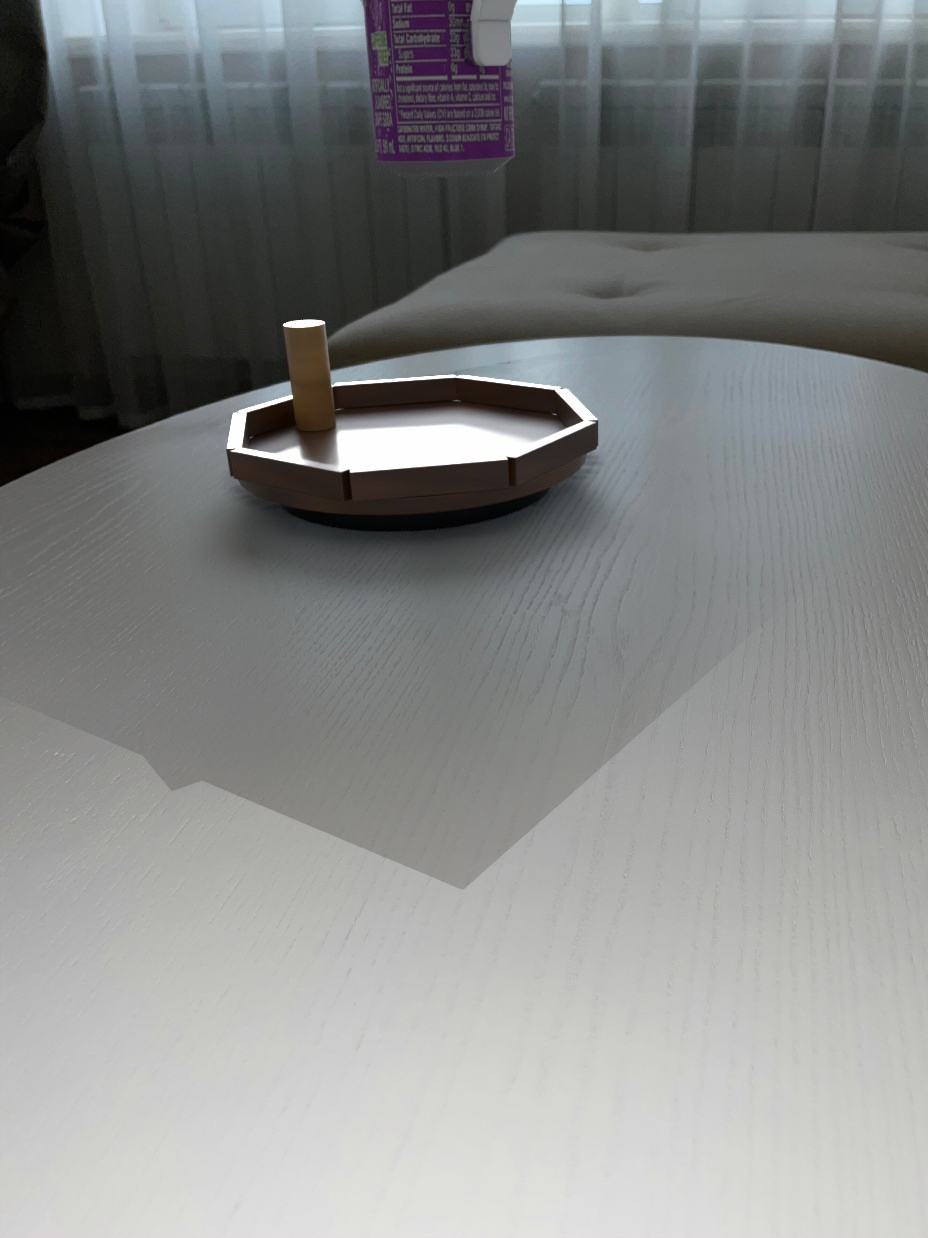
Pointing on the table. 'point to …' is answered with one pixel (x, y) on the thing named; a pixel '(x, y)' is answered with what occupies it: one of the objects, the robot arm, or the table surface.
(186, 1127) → the table surface
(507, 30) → the robot arm
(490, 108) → the beverage can
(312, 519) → the turntable base
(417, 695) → the table surface
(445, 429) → the tray
